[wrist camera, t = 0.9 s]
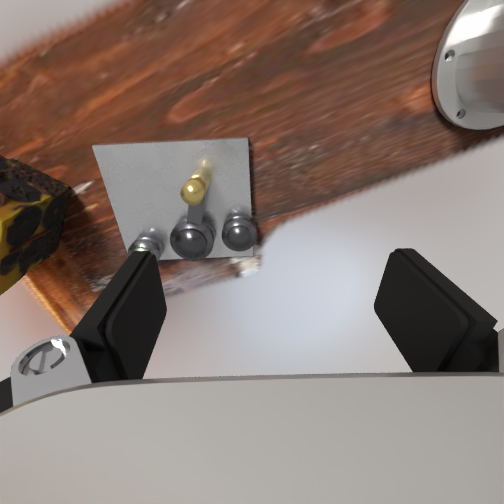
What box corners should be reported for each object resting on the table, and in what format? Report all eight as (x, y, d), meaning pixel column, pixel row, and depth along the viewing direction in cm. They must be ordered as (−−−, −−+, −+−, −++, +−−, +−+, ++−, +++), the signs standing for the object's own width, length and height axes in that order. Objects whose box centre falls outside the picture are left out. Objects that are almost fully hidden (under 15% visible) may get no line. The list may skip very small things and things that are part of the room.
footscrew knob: (212, 255, 33) (205, 283, 28) (172, 248, 32) (158, 275, 27) (226, 173, 28) (221, 189, 23) (179, 163, 27) (163, 177, 22)
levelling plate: (252, 136, 28) (253, 141, 24) (256, 249, 35) (257, 266, 31) (99, 143, 28) (77, 149, 24) (134, 255, 35) (121, 272, 31)
